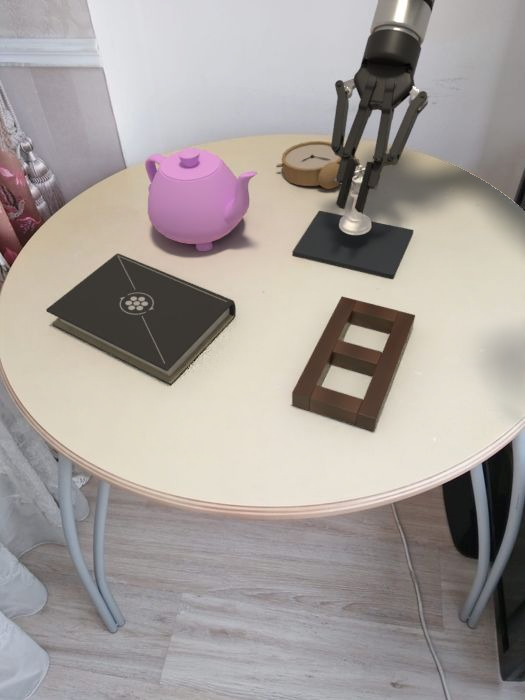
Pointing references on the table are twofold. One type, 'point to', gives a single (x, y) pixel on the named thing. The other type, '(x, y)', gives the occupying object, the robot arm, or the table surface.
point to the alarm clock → (312, 164)
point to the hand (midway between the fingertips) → (349, 208)
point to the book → (143, 316)
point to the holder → (354, 363)
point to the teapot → (195, 197)
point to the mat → (354, 245)
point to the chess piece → (355, 211)
